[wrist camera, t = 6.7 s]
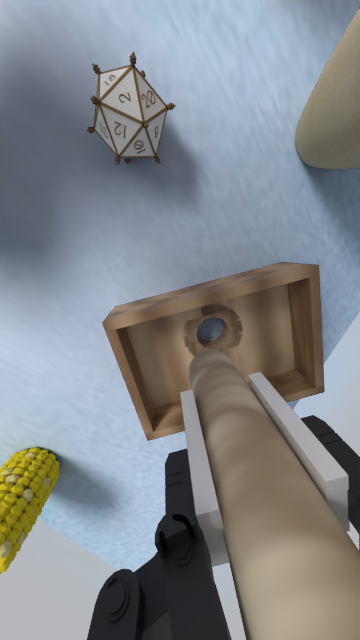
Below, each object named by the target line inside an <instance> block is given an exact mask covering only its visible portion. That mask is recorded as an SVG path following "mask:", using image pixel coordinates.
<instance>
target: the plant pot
mask: <svg viewBox="0 0 360 640" xmlns="http://www.w3.org/2000/svg"><path fill="white" fill-rule="evenodd" d="M295 145H296V150H297V152H298V155H299V157H300V158H301V160H302V161H303V162H304V163H305V164H307V165H309V166H311V167H316V168H325V169H357V168H360V8H359V10H358V11H357V13H356V14H355V16H354V18H353V19H352V21H351V22H350V24H349V26H348V27H347V29H346V31H345V33H344V34H343V36H342V38H341V39H340V41H339V43H338V44H337V46H336V48H335V50H334V51H333V53H332V55H331V57H330V59H329V60H328V62H327V64H326V66H325V68H324V69H323V71H322V73H321V75H320V77H319V79H318V81H317V83H316V85H315V87H314V89H313V91H312V93H311V95H310V97H309V99H308V101H307V103H306V106H305V108H304V110H303V113H302V115H301V117H300V120H299V123H298V125H297V129H296V134H295Z"/></svg>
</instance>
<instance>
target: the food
mask: <svg viewBox="0 0 360 640" xmlns="http://www.w3.org/2000/svg"><path fill="white" fill-rule="evenodd" d="M59 466H60V464H59V461H56V457H55V455H53V454H52V453H50V454H49V453H48V450H40V449H39V448H38V447H34V448H31V449H30V450H28V449H24V450H22V451H21V452H16V453H15V454H14V455H13V456H12V457H11V458H10V459H9V460H8V461H7V462H6V463H5V464H4V465H3V466H2V467H1V468H0V574H1V573H2V572H5V571H6V570H7V568H8V567H9V565H10V563H11V562H12V561H13V560H14V558H15V556H16V552H18V551H19V550H20V548H21V545H22V543H23V542H24V540H25V539H26V537H27V536H28V533H29V532H30V531H31V529H32V526H33V525H34V524H35V522H36V519H37V516H38V515H39V514H41V511H42V507H44V505H45V502H46V501H47V499H48V497H49V495H50V494H51V492H52V488H53V487H55V484H56V482H57V479H58V477H59V474H60V469H59Z"/></svg>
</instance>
